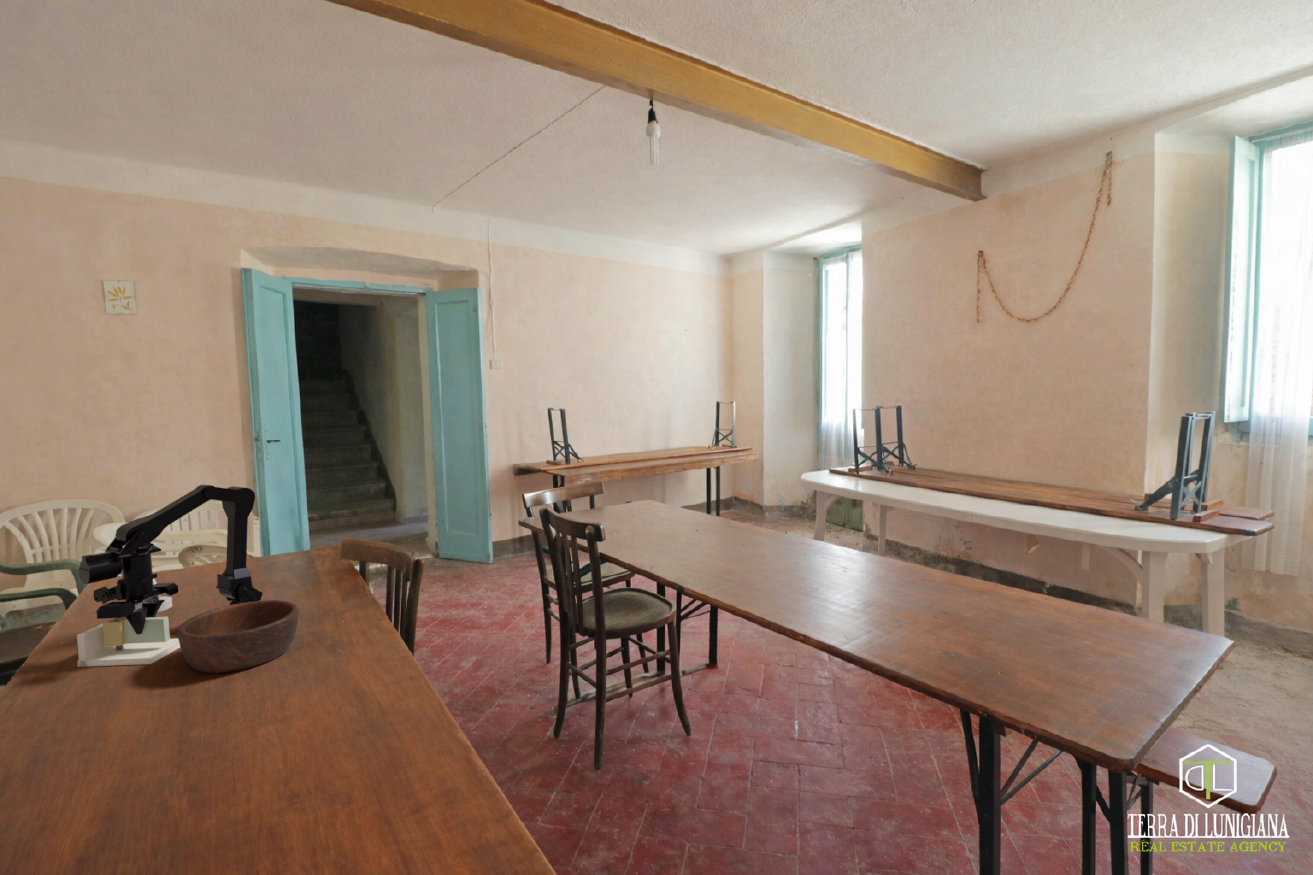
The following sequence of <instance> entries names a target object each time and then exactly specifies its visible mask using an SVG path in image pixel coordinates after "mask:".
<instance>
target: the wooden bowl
mask: <svg viewBox="0 0 1313 875" xmlns="http://www.w3.org/2000/svg"><path fill="white" fill-rule="evenodd" d="M299 614H300V613H299V606H298V604H296V603H294V602H291V601H287V600H282V599H280V600H277V599H270V600H269V599H266V600H265V599H264V600H263V599H262V600H260V601H253V602H246V603H239V604H234V605H230V604H229V605H225V606H221V607H218V608H214V609H210V610H208V611H205V612H202V613H200V614H198V615H194V616H192V617H190V618H189V619H186V620H185V621H184V622H182V623H181V624H180V625H179V626H178V628H177V632H176V635H177V638H178V640H179V644H180V650H181V653H182V655H183V657H184V658H185V661H186V662H187V663H188V664H189V666H191V667H192V668H193V669H195V670H196V671H199V672H201V673H207V674H219V673H220V674H221V673H230V672H235V671H236V672H237V671H241V670H245V669H249V668H253V667H256V666H259V665H262V664H265V663H267V662H270V661H272V660H274V659H276V658H278V657H279V656H281V655H282V654H284V653H285V652H287V650H288V649H289V648H290V646H291V644H292V643H293V641H294V639H295V636H296V634H297V628H298V621H299Z"/></svg>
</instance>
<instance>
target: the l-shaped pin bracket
mask: <svg viewBox="0 0 1313 875" xmlns="http://www.w3.org/2000/svg"><path fill="white" fill-rule="evenodd" d="M76 641H77V650H78V651H77V652H78V660H77V661H76V662H77V667H78V668H81V667H84V668H85V667H107V666H111V667H112V666H130V665H131V666H134V665H135V666H136V665H139V666H140V665H151V664H154V663H156V662H157V661H158V660H159V661H160V660H161V659H162V658H163V657H166V656H168V655H169V654H171V653H173V652H175V651H177V650H178V649H179V648H180V649H181V647H180V644H179V640H178V637H177V638H170V640H168V641H166V642H152V643H129V644H123V645H122V646H104V636H103V625H102V623H101V624H98V625H96V626H94V627H92V628H89V629H87V630H85V631H83V632H80V633H79V634H76Z"/></svg>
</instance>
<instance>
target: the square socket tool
mask: <svg viewBox="0 0 1313 875" xmlns="http://www.w3.org/2000/svg"><path fill="white" fill-rule="evenodd" d="M169 621H170V620H169V616H155V617H148V618H146V619H145V624H144V628H143V632H142V634H136V633H135V631H134V629H133V628H132V626H131V624H130V623H129V621H128V620H127V619H126V617H122V618H110V619H108V620H107V621H103V622H102V623H101V624H102V625H103V636H104V646H122V645H123V644H129V643H152V642H166V641H168V640H170V639H171V635H170V634H171V632H170V625H169V624H170V623H169Z"/></svg>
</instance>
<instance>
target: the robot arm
mask: <svg viewBox="0 0 1313 875" xmlns="http://www.w3.org/2000/svg"><path fill="white" fill-rule="evenodd" d="M212 500H213V501H220V502H221V504H222V509H223V512H224V513H225V516H226V517H227V525H226V526H227V528H226V529H227V534H226V566H225V568H224V571H223V572H222V573H219V574H217V575H216V580H217V583H216V587H215V589H218V593H219V594H220V595H221V596H222V597H225V599H226V600H227V602H229V605H234V604H239V603H246V602H253V601H262V597H263V592H262V591H260V590H258V589H257V588H255V587H254V586H253V580H252V575H251V573H250V572H249V569H248V566H247V560H248V558H247V556H248V554H247V553H248V552H247V551H248V523H249V522H248V520H249V516H250V514H251V513H252V511H253V509H254V506H255V500H256V493H255V491H253V490H252V489H251V488H249V487H243V486H242V487H241V486H229V487H227V488H225V487H219V486H215V485H212V484H211V485H210V484H200V485H198V486H196V487H195V488H194V489H193V490H191V491H189V492H188V493H186V494H184V495H183V496H180V497H179V498H177V499H176V500H174V501H172V502H170V503H168V505H165V506H164V507H162V508H160V509H158V510H157V511H155V512H153V513H151V514H149V515H146V516H143V517H139V518H136V519H133V520H131V521H129V522H127V523H123V524H122V525H121V526H119V527H118V528H117V529H116V532H115V535H114V536H115V537H114V538H113V540H112V541H111V542H110V543H109V545H108V546H107V548H106V549H105V550H104V552H99V553H94V554H85V555H82V556H81V562H80V564H79V568H78V576H79V579H80V581H81V583H82V584H84V585H89V584H94V583H98V582H103V581H107V580H111V579H115V578H117V577H118V576H120V575H122V578H118V580H117V581H116V586H115V585H114V586H113V587H110V588H108V587H107V586H102V587H100V588H97V589H94V590H93V595H92V596H93V600H94V602H96V603H100V602H101V604H102V605H101V606H99V607H97V609H96V614H95V615H96V619H97V620H98V619H100V620H101V619H103V620H104V619H113V618H122V617H126V619H127V620H128V621H129V623H130V624H131V626H132V628H133V629H134V631H135V633H136V634H142V632H143V628H144V624H145V619H146V618H148V617H156V615H157V613H159V612H158V610H159V608H160V606H161V605H162V603H163V602H164V601H165V600H159V597H158V595H163V594H166V595H167V596H168V597H172V596H173V595H176V594H179V585H178V584H177V583H175V582H156V583H157V584H154V585H153V579H156V578H158V573H155V572H154V573H153V563H152V560H153V559H152V554H153V553H154V554H155V553H158V552H162V548H160V547H158V546H156V545H155V544H154V543H152V542H153V541H154V540H156V538H158V537H159V536H160V535H161V534H162V533H163V531H164V530H165V529H166V528H167V527H169V525H171V524H174V522H177V520H179V519H181V518H183V517H185V516H186V515H188V514H189V513H191V512H192V511H194V510H195V509H197V508H199V507H200V506H202V505H204V504H205V503H207V502H209V501H212ZM114 600H116V601H114ZM124 600H125V601H124Z"/></svg>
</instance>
